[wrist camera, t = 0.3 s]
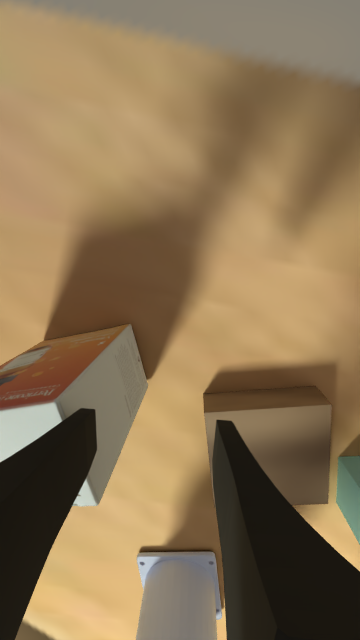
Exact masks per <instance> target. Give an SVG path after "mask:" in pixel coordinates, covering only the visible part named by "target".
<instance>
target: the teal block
mask: <svg viewBox="0 0 360 640" xmlns="http://www.w3.org/2000/svg"><path fill="white" fill-rule="evenodd" d="M336 502H337V504H338V506H339V508H340V510H341V512H342V513H343V515H344V517H345V519H346V521H347V522H348V524H349V526H350V528H351V530H352V532H353V533H354V535H355V537H356V539H357V541H358V542H359V544H360V456H346V457H338V475H337V497H336Z"/></svg>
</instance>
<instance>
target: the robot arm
mask: <svg viewBox="0 0 360 640" xmlns="http://www.w3.org/2000/svg"><path fill="white" fill-rule="evenodd" d="M96 452H97V433H96V412H95V409H88V408H80V409H79V410H77V411H76V412H74V413H73V414H72V415H70V416H69V417H67V418H66V419H65V420H63V421H62V422H61V423H59V424H58V425H56V426H55V427H53V428H52V429H51V430H49V431H48V432H46V433H45V434H44V435H42V436H41V437H39V438H38V439H36V440H35V441H33V442H32V443H30V444H29V445H27V446H25V447H24V448H22V449H21V450H19V451H18V452H16V453H15V454H13V455H12V456H10V457H8V458H7V459H5V460H3V461H2V462H0V640H15V638H16V635H17V632H18V629H19V626H20V624H21V622H22V619H23V617H24V614H25V612H26V609H27V607H28V604H29V601H30V599H31V596H32V594H33V591H34V589H35V586H36V584H37V581H38V579H39V576H40V574H41V572H42V569H43V567H44V564H45V562H46V559H47V557H48V555H49V552H50V550H51V548H52V545H53V543H54V541H55V539H56V537H57V535H58V533H59V531H60V529H61V527H62V525H63V523H64V521H65V519H66V517H67V515H68V513H69V511H70V509H71V507H72V505H73V503H74V501H75V499H76V498H77V496H78V494H79V492H80V490H81V488H82V486H83V484H84V482H85V480H86V478H87V476H88V473H89V471H90V468H91V465H92V463H93V460H94V457H95V454H96ZM212 470H213V490H214V498H215V506H216V514H217V521H218V529H219V537H220V544H221V552H222V562H223V574H224V592H225V611H226V631H227V640H360V571H358V570H357V569H356V568H355V567H354V566H353V565H352V564H351V563H349V562H348V561H347V560H346V559H345V558H344V557H343V556H342V555H340V554H339V553H338V552H337V551H336V550H335V549H334V548H333V547H332V546H331V545H330V544H329V543H328V542H327V541H326V540H325V539H324V538H323V537H322V536H321V535H320V534H319V533H318V532H316V531H315V530H314V529H313V528H312V527H311V526H310V525H309V524H308V523H307V522H306V521H305V520H304V518H303V517H302V516H301V515H300V514H299V513H298V512H297V511H296V510H295V509H294V508H293V506H292V505H291V504H290V503H289V502H288V501H287V500H286V498H285V497H284V496H283V495H282V494H281V492H280V491H279V490H278V489H277V487H276V486H275V485H274V484H273V482H272V481H271V480H270V478H269V477H268V476H267V474H266V473H265V472H264V470H263V469H262V468H261V466H260V465H259V463H258V462H257V460H256V459H255V457H254V456H253V454H252V453H251V452H250V450H249V448H248V447H247V445H246V444H245V442H244V440H243V439H242V437H241V435H240V434H239V432H238V430H237V428H236V426H235V425H234V423H233V422H232V421H229V420H216V429H215V439H214V448H213V458H212ZM137 563H138V568H139V572H140V577H141V581H142V586H143V590H144V591H143V597H142V604H141V610H140V616H139V623H138V629H137V635H136V640H217V624H216V620H218V619H221V618H222V609H221V601H220V592H219V583H218V574H217V565H216V556H215V554H214V553H213V552H141V553H139V554H138V555H137Z"/></svg>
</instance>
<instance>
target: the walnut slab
mask: <svg viewBox="0 0 360 640" xmlns="http://www.w3.org/2000/svg"><path fill="white" fill-rule="evenodd" d="M203 399H204V416H205V425H206V434H207V444H208V453H209V462H210V471H211V480H212V490H213V470H212V458H213V448H214V439H215V429H216V420H229V421H232V422H233V423H234V425H235V426H236V428H237V430H238V432H239V434H240V435H241V437H242V439H243V440H244V442H245V444H246V445H247V447H248V448H249V450H250V452H251V453H252V454H253V456H254V457H255V459H256V460H257V462H258V463H259V465H260V466H261V468H262V469H263V470H264V472H265V473H266V474H267V476H268V477H269V478H270V480H271V481H272V482H273V484H274V485H275V486H276V487H277V489H278V490H279V491H280V492H281V494H282V495H283V496H284V497H285V498H286V500H287V501H288V502H289V503H290V504H291V505H307V504H328V493H329V466H330V438H331V411H332V404H331V403H330V402H329V401H328V400H327V399H326V397H325V396H324V395H323V394H322V393H321V392H320V390H319V389H318V388H317V387H316V386H307V387H293V388H278V389H264V390H250V391H236V392H222V393H208V394H203ZM213 499H214V507H216V506H215V498H214V490H213Z"/></svg>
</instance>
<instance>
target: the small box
mask: <svg viewBox="0 0 360 640" xmlns="http://www.w3.org/2000/svg"><path fill="white" fill-rule="evenodd" d="M147 388H148V383H147V379H146V376H145V372H144V369H143V365H142V362H141V358H140V354H139V351H138V347H137V344H136V340H135V337H134V333H133V330H132V326H131V324H126V325H122V326H117V327H113V328H109V329H104V330H99V331H94V332H89V333H83V334H78V335H72V336H67V337H62V338H57V339H52V340H46V341H42V342H40V343H39V344H37V345H35V346H34V347H32V348H30V349H29V350H27V351H25V352H23V353H22V354H20V355H18V356H16V357H15V358H13V359H11V360H9V361H8V362H6V363H4V364H3V365H1V366H0V462H2V461H3V460H5V459H7V458H8V457H10V456H12V455H13V454H15V453H16V452H18V451H19V450H21V449H22V448H24V447H25V446H27V445H29V444H30V443H32V442H33V441H35V440H36V439H38V438H39V437H41V436H42V435H44V434H45V433H46V432H48V431H49V430H51V429H52V428H53V427H55V426H56V425H58V424H59V423H61V422H62V421H63V420H65V419H66V418H67V417H69V416H70V415H72V414H73V413H74V412H76V411H77V410H79V409H80V408H88V409H95V412H96V433H97V452H96V454H95V457H94V460H93V463H92V465H91V468H90V471H89V473H88V476H87V478H86V480H85V482H84V484H83V486H82V488H81V490H80V492H79V494H78V496H77V498H76V499H75V501H74V503H73V505H72V506H97V505H98V504H99V502H100V500H101V498H102V496H103V493H104V491H105V488H106V486H107V484H108V481H109V479H110V477H111V474H112V472H113V469H114V467H115V465H116V462H117V460H118V457H119V455H120V453H121V450H122V448H123V445H124V443H125V440H126V438H127V435H128V433H129V430H130V428H131V426H132V423H133V421H134V419H135V416H136V414H137V411H138V409H139V407H140V404H141V402H142V400H143V397H144V395H145V393H146V390H147Z"/></svg>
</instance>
